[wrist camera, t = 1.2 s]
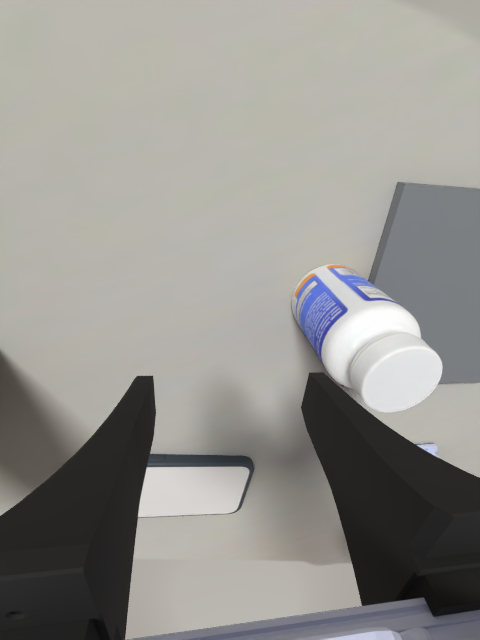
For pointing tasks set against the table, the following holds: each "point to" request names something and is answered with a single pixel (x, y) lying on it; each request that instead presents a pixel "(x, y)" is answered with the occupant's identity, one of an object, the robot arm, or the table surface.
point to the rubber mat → (436, 270)
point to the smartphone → (194, 485)
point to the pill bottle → (365, 338)
